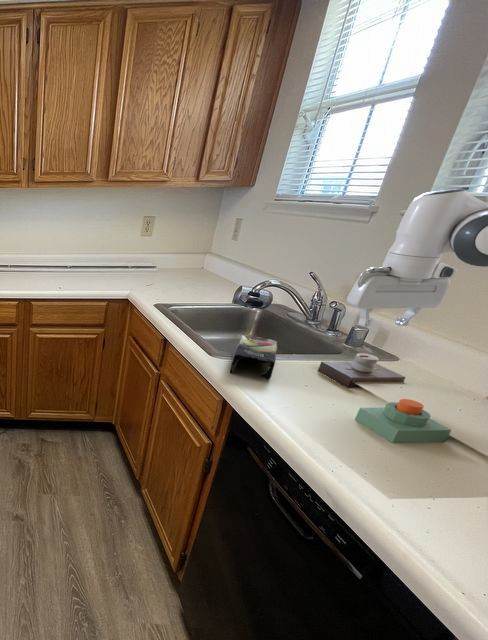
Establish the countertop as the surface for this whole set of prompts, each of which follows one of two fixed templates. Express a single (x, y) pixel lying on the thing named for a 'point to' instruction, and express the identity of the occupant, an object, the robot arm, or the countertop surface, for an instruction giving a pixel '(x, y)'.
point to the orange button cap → (410, 406)
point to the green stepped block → (402, 425)
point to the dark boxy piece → (256, 352)
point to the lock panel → (356, 374)
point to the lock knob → (364, 362)
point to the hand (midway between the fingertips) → (382, 325)
